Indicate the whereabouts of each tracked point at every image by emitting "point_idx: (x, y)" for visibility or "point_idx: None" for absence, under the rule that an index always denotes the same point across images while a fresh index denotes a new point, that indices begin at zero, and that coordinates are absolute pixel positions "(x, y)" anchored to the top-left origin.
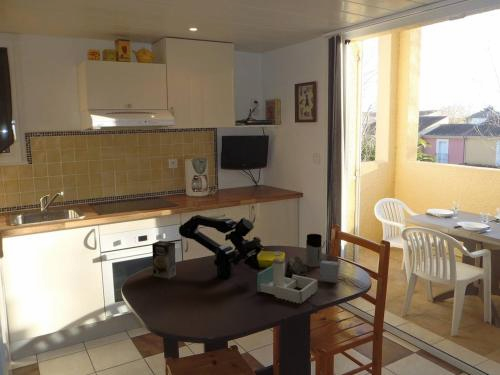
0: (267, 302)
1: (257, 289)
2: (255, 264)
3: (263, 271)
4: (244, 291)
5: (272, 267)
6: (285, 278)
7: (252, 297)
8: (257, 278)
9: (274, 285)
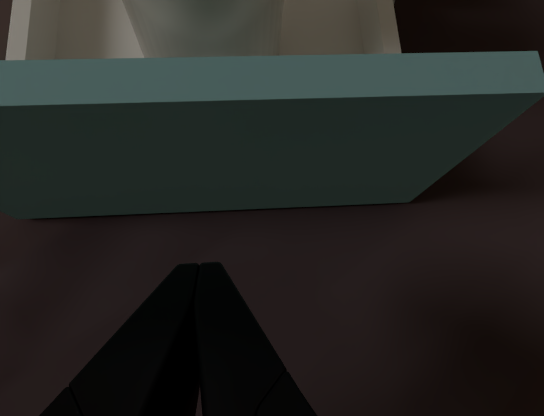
0: (517, 9)
1: (416, 194)
2: (275, 366)
3: (367, 63)
4: (490, 336)
5: (7, 71)
6: (33, 11)
7: (539, 169)
8: (490, 135)
9: (280, 38)
